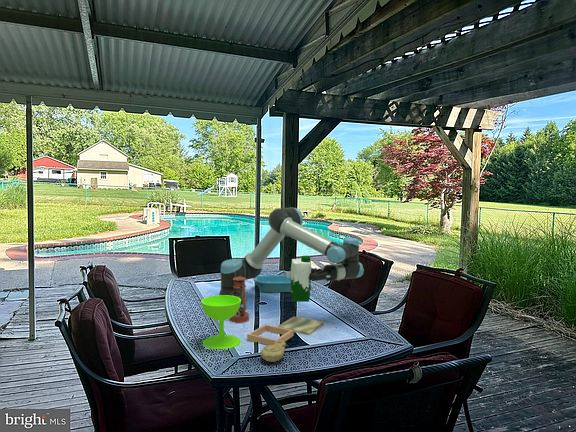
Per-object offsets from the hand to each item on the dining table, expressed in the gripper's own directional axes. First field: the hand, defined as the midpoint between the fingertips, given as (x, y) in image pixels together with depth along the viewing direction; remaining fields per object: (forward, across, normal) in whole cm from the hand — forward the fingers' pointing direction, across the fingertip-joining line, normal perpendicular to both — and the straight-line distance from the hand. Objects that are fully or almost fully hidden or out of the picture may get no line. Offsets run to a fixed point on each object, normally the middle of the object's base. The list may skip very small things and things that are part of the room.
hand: (290, 276), depth 177 cm
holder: (+12, -7, -24) cm, 28 cm away
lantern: (+17, +21, -24) cm, 36 cm away
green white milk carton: (-5, 0, -11) cm, 12 cm away
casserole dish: (-27, +66, -24) cm, 75 cm away
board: (-6, 0, -24) cm, 25 cm away
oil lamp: (+19, -25, -24) cm, 40 cm away
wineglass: (+33, -4, -24) cm, 41 cm away
